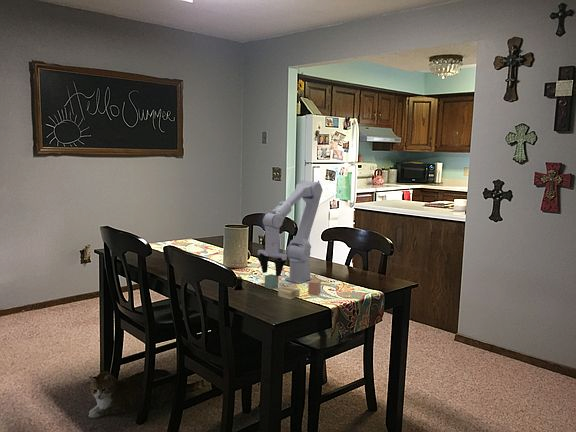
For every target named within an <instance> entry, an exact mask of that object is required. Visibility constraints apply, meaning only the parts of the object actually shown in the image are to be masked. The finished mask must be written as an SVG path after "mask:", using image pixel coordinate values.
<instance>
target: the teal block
mask: <svg viewBox="0 0 576 432" xmlns="http://www.w3.org/2000/svg"><path fill="white" fill-rule="evenodd" d="M264 288H265V289H269V290H274V289H277V288H279V276H276V274H272V273H270V274H267V275H264Z"/></svg>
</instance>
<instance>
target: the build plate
mask: <svg viewBox="0 0 576 432" xmlns="http://www.w3.org/2000/svg"><path fill="white" fill-rule="evenodd" d="M236 277H237V285H236V286H235V287H233V288H232V287H231V290H232V291H246V290H247V288H246V286H245V283H243V278H242V276H236Z"/></svg>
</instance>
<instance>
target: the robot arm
mask: <svg viewBox="0 0 576 432" xmlns="http://www.w3.org/2000/svg"><path fill="white" fill-rule="evenodd" d="M322 193H323V186H322V185H321V183H320V182H319V181H309V180H308V181H306V180H299V182H298V183H297V184H296V185H295V189H294V190H293V192H291V194H290V195H289V196H288V198H286V200H283V201H279V202H278V205H276V206H275V208H274V209H272V210H271V212H267V213H266V214H265V215H264V216H263V218H262V220H261V221H262V223H263V226H264V231H265V237H264V240H265V245H264V249H258V250H257V255H258V256H257V261H259V264H260V268H261V271H262V274H266V273H267V272H268V266H269V260H270V258H274V260H273V261H274V267H275V275H276V276H278V277H280V276H281V275H282V271H283V269H284V266H285V264H286V263H287V260H288V261H289V277H287V278H285V281H288V282H291V283H295V284H302V283H305V282H309V281H310V280H313V278H312V277H311V270H312V269H311V267H312V266H311V262H310V260H309V259H310V257H311V249H312V245H311V244H310V242H309V239H310V234H311V231H312V228H313V224H314V221H315V218H316V215H317V212H318V207H319V204H320V200H321V197H322ZM301 199H302V200H303V201H304V202H305V207H304V210H303V213H302V217H301V219H300V223H299V227H298V229H297V233H296V235H295V237H294V238H293V239H291V240H290V241H289V244H288V245H287V247H286V250H285V254H284V253H281V252H280V227H282V226H283V223H284V220H285V219H286V217H287V216H288V215H289V214H290V213H291V212H292V210H293V209H292V207H293V206H294V205H295V204H296V203H298V202H299V201H300V200H301ZM287 258H288V259H287Z"/></svg>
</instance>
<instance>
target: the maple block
mask: <svg viewBox="0 0 576 432" xmlns="http://www.w3.org/2000/svg"><path fill="white" fill-rule="evenodd" d="M277 291H278V292H277V296H278V297H280V298H283V299H284V298H285V299H286V300H293V299H294V298H298V297H300V295H301V294H300V293H301V290H300V288H295V287H292V286H289V285H288V286H285V287H281V288H279V289H278V290H277Z"/></svg>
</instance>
